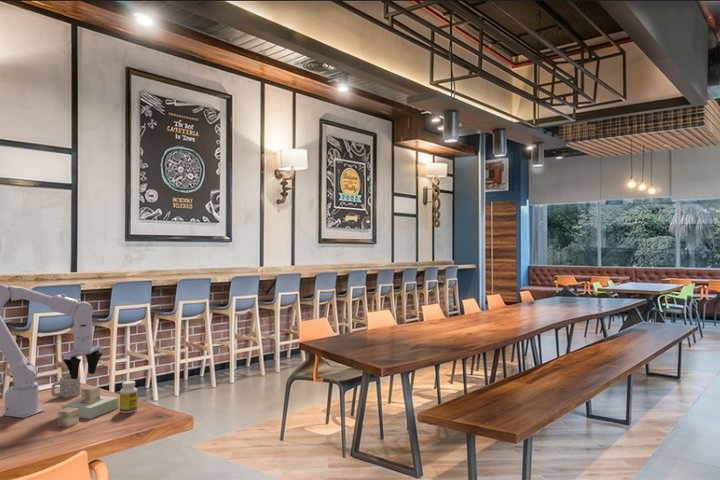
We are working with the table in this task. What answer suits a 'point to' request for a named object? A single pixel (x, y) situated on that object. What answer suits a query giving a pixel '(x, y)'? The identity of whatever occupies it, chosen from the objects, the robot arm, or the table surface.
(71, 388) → the mug
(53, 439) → the table surface
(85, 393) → the tall beige block
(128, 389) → the supplement bottle
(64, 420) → the short pin
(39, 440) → the table surface
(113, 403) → the hole block
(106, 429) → the table surface
